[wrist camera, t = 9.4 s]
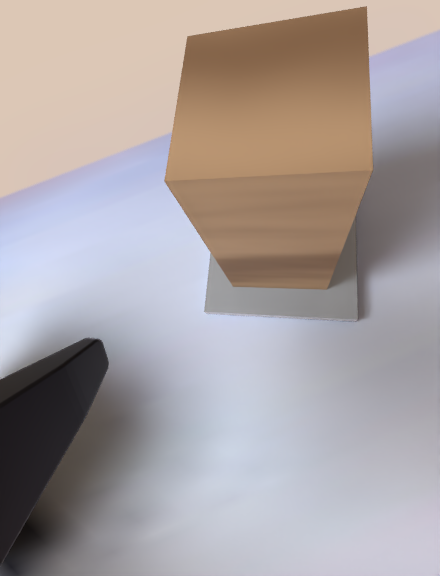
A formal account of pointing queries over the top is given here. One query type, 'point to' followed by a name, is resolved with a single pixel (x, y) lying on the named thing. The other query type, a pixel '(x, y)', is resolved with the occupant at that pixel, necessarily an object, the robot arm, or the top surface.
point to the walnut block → (275, 145)
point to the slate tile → (290, 293)
